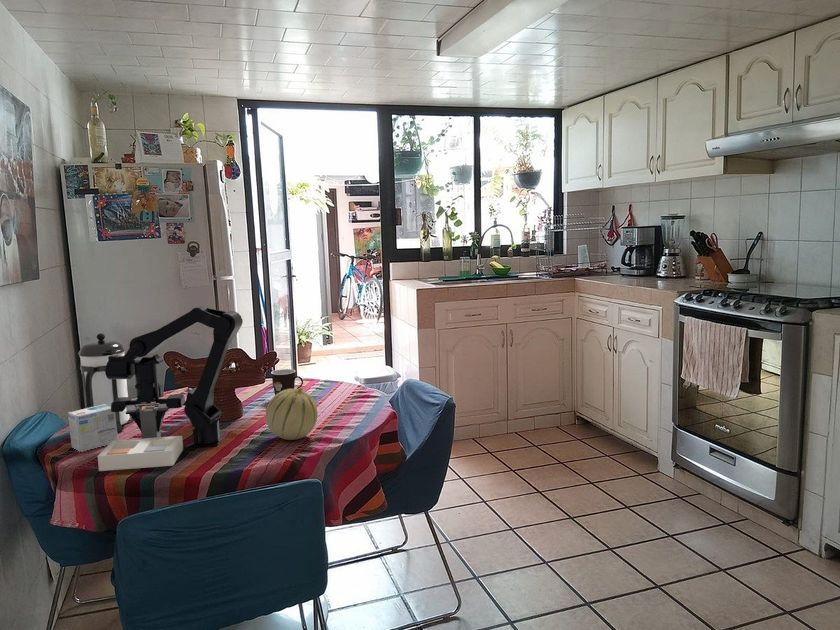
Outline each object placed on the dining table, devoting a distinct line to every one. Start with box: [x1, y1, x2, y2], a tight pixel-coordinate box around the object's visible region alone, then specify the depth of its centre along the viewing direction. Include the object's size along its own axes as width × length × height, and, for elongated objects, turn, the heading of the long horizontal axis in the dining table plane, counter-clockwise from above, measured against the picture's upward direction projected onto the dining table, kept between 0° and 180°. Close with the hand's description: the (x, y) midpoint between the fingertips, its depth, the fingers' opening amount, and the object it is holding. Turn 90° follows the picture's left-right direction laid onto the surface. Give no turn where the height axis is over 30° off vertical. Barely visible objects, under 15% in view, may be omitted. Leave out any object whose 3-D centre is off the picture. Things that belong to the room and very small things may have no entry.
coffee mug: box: [270, 368, 304, 396], centre depth 219 cm, size 12×9×10 cm
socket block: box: [97, 435, 184, 472], centre depth 163 cm, size 18×12×4 cm, turn 99°
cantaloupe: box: [265, 387, 319, 441], centre depth 177 cm, size 15×15×15 cm
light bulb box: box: [67, 404, 119, 452], centre depth 175 cm, size 11×7×11 cm, turn 141°
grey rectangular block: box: [140, 406, 162, 438], centre depth 175 cm, size 4×4×11 cm
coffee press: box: [78, 332, 134, 434], centre depth 188 cm, size 17×16×30 cm
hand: (151, 431), depth 176 cm, fingers closed on grey rectangular block, 4 cm apart
